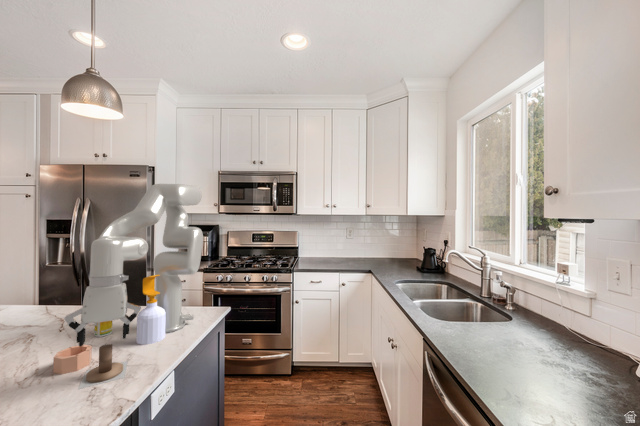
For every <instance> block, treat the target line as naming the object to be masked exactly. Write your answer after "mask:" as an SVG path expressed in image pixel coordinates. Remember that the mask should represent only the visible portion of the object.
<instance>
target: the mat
mask: <svg viewBox="0 0 640 426" xmlns="http://www.w3.org/2000/svg"><path fill="white" fill-rule="evenodd" d="M128 362H129V360H125V361H121V362H120V363H122V364H123V371H122V372H121V373H120V374H119V375H117V376H116V377H114V378H112V379H109V380H107V381H103V382H98V383H89V382H87V381H86V375H87V373H88V372H89V371H90V370H92V369H93V368H90V369H87V370H86V371H85V373H84V375H83V378H82V380H81V382H80V384H79V386H78V388H77V390H81V389H85V388H90V387H93V386H98V385H100V384H105V383H109V382H113V381H117V380H121V379H125V377H126V372H127V366H128Z"/></svg>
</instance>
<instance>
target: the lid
mask: <svg viewBox="0 0 640 426" xmlns="http://www.w3.org/2000/svg"><path fill="white" fill-rule="evenodd" d="M91 369H92V370H90V369H89V370H90V371H89V372H88V373H87V375H86V381H87V382H89V383H98V382H103V381H107V380H109V379H112V378H114V377H116V376H117V375H119V374H120V373H121V372H122V371H123V364H122V363H121V362H113V344H112V343H106V344H102V345H100V346H99V347H98V366H96V367H94V368H91Z"/></svg>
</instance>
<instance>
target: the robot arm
mask: <svg viewBox="0 0 640 426" xmlns="http://www.w3.org/2000/svg"><path fill="white" fill-rule="evenodd" d="M202 196H203V195H202V190H201V189H200V188H199V187H198V186H197V185H189V184H181V183H156V184H152V185H151V186H149V188H148V189H147V190H146V192H145V193H144V195H143V196H142V198H141V199H140V201H139V202H138V203H137V205H136V206H135V208H134V209H133V210H131V211H129V212H126V213H125V214H124V215H122V216H120V217H119V218H117V219H115V220H114V221H112V222H111V223H109V225H107V226H106V227H105V228H104V230H103V231H102V233H101V234H100V235H99V236H98V238H97V239H94V240H93V241H92V243H91V247H90V264H89V265H90V268H89V269H90V270H89V286H86V288H85V292H84V296H83V299H82V300H83V301H82V307H81V308H78V309H77V310H75V311H73V312H71V313H69V314H67V315H66V316H65V317H64V321H65V322H66V323H67V325H68V327H69V328H70V329H73V330H74V332H76V344H78V346H79V347H80V346H82V345H85V342H86V328H85V327H86V326H87V325H88V324H89V325H90V324H95V323H98V322H105V321H112V322H113V321H118V320H120V321H122V323H123V325H122V339H124V340H125V339H127V335H129V334H130V324H131V322H133V320H135V318H137V316H138V313H139V312H141V311H142V307H141V306H140V305H137V304H135V303H131V302H128V291H127V284H126V281H129V275H126V274H124V262H126V261H138V260H140V259H142V258H144V257H145V256H147V253H148V251H149V244H148V242H147V241H146V239H144V238H142V237H139V236H127V235H129V234H131V233H133V232H136V231H138V230H141V229H144V228H145V229H146V228H148V227H151V226H153V225H156V224H158V222H160V220H161V218H162V216H163V214H164V213H165V214H166V219H165V223H164V224H165V225H164V230H163V234H162V235H163V236H162V245H163V246H164V247H165V248H168V249H173V251H171V250H170V251H169V250H168V251H163V252H159V253H158V254H157V255H156V256H155V257H154V258H153V262H152V263H153V270H154V274H155V275H160V276H157V277H155V291H157V292H160V294H157V295H156V296H155V299H156V300H157V306H159V307H162V308H163V309H164V310H165V312H166V323H165V334H167V333H172V332H176V331H178V330H180V329H182V328H184V327H185V326H186V321H191V320H194V314H191V313H187V314H183V312H182V311H183V310H182V304H183V303H182V302H183V301H182V299H183V298H182V295H183V283H182V280H181V278H180V275H181V276H184V275H187V276H188V275H189V276H192V275H195V274H196V273H197V272H198V271H199V268H200V267H201V266H200V265H201V259H202V251H203V245H204V235H203V234H204V232H203V231H202V229H201V228H200V227H197V226H188V224H189V223H188V222H189V215H188V213H187V211H186V209H185V208H184V207H183V206H187V207H188V206H197V205H198V204H199V203H200V202H201V201H202ZM174 249H179V250H180V249H185V250H186V249H187V251H179V250H178V251H174ZM128 309H130V310H133V312H132V314H130V315H128V314H127V312H128ZM190 314H191V315H190ZM79 315H80V321H81V322H80V323H79V322H78V321H76V320H75V318H76V317H77V316H79Z"/></svg>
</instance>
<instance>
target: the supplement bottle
mask: <svg viewBox="0 0 640 426" xmlns="http://www.w3.org/2000/svg"><path fill="white" fill-rule="evenodd" d="M112 332H113V320H112V321H105V322H98V323H94V333H93V335H94V337H96V338H103V337H106V336H109V335H111V334H112Z"/></svg>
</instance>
